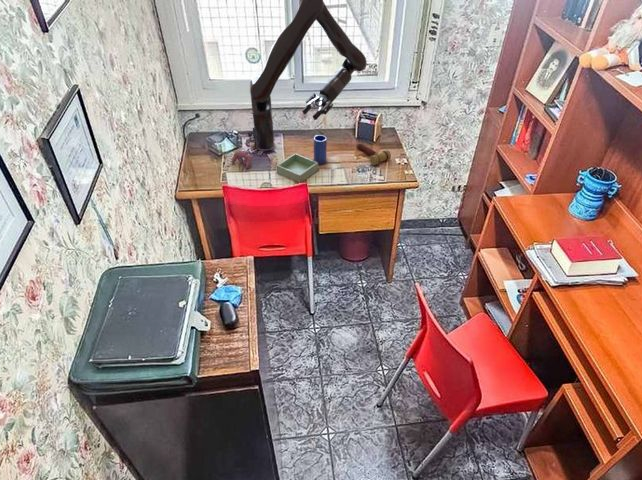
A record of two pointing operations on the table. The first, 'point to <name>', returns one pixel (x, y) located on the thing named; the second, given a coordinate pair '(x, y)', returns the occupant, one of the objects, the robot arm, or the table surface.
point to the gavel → (375, 154)
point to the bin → (297, 167)
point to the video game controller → (240, 156)
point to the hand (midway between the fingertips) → (308, 115)
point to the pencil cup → (320, 149)
